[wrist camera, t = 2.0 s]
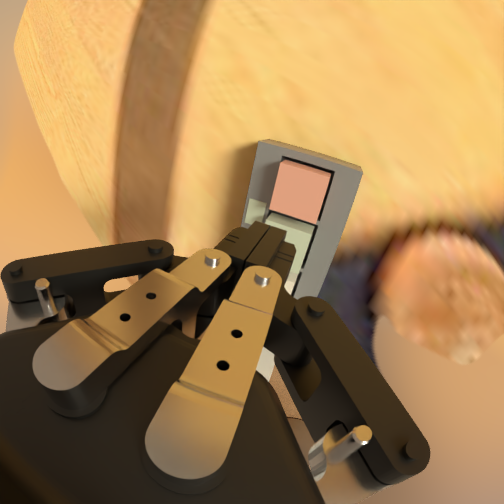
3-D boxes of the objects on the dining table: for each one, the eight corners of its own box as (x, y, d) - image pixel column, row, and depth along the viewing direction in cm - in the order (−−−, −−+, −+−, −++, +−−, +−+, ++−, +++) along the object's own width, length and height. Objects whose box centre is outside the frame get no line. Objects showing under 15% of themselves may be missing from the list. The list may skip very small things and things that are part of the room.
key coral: (318, 216, 24) (315, 224, 22) (275, 202, 24) (269, 209, 23) (331, 173, 22) (330, 177, 20) (285, 159, 22) (280, 162, 21)
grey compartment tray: (311, 302, 31) (306, 320, 28) (238, 276, 33) (227, 291, 30) (360, 166, 23) (363, 172, 20) (268, 139, 25) (258, 141, 22)
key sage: (302, 263, 26) (298, 274, 24) (262, 250, 27) (256, 259, 25) (314, 226, 24) (311, 234, 22) (272, 212, 25) (266, 219, 23)
